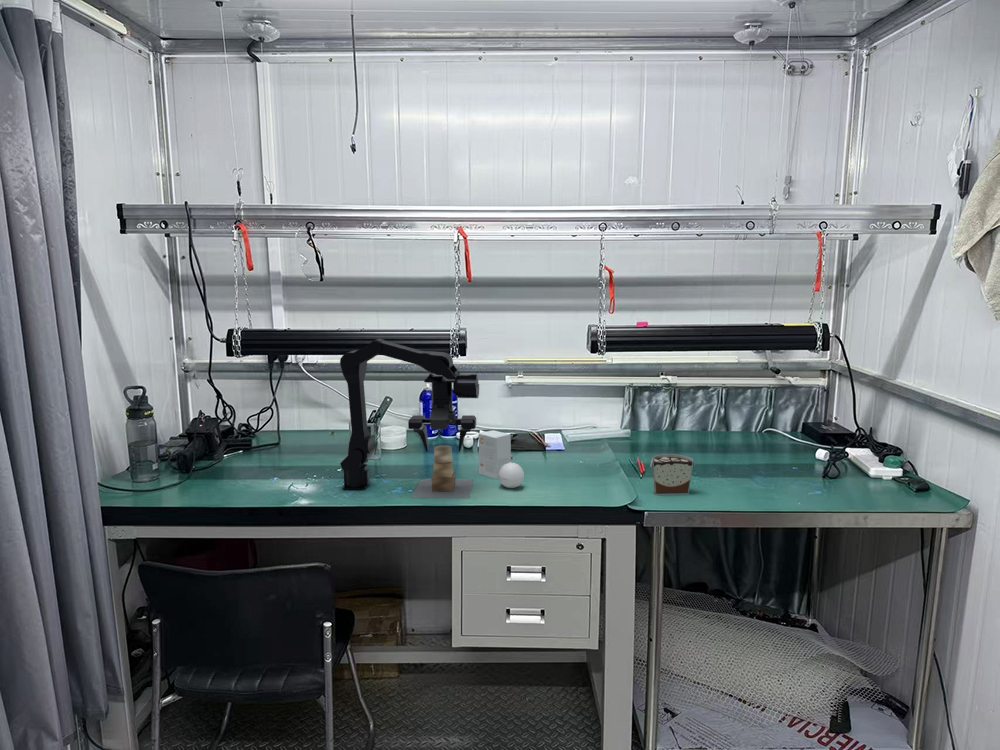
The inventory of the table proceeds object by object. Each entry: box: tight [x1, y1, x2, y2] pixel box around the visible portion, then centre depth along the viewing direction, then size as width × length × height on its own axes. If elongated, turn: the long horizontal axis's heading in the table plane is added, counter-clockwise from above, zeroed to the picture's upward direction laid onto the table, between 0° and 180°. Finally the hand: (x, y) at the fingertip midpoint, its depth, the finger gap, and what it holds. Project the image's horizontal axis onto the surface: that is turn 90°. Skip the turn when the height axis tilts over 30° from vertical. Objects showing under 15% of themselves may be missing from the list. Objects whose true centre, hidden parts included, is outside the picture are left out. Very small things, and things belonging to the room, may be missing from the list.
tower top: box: [433, 458, 454, 478], centre depth 181 cm, size 5×5×4 cm
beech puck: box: [433, 445, 453, 464], centre depth 180 cm, size 5×5×4 cm
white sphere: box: [493, 462, 525, 489], centre depth 182 cm, size 10×7×7 cm
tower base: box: [431, 471, 456, 492], centre depth 181 cm, size 6×6×4 cm
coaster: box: [411, 478, 475, 499], centre depth 182 cm, size 16×16×1 cm
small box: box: [478, 429, 512, 480], centre depth 194 cm, size 8×6×13 cm
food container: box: [649, 453, 696, 496], centre depth 178 cm, size 12×6×10 cm, turn 91°
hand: (443, 451), depth 180 cm, fingers open, 9 cm apart
